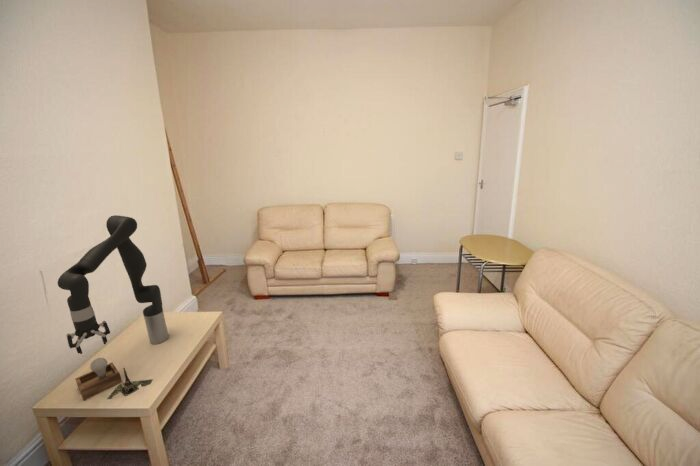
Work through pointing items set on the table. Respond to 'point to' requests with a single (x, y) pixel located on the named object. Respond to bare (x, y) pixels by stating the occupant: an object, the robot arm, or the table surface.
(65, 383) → the table surface
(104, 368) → the lightbulb
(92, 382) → the wooden tray
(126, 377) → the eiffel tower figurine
